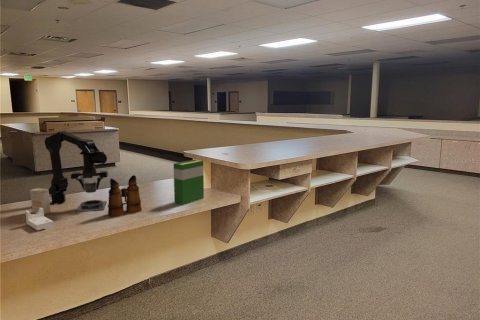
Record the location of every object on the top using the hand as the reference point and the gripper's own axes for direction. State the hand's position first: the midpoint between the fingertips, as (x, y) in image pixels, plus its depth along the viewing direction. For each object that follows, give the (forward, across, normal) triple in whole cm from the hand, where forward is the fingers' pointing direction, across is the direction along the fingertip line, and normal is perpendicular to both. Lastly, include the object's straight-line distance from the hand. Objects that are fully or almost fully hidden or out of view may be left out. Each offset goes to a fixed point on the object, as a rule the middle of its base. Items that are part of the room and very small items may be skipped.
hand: (90, 189), depth 192 cm
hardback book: (+11, +56, +1) cm, 57 cm away
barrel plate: (+10, 0, 0) cm, 11 cm away
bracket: (+11, -20, -26) cm, 34 cm away
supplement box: (+11, -25, -4) cm, 27 cm away
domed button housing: (+1, 0, 0) cm, 1 cm away
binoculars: (+11, +19, -14) cm, 26 cm away
